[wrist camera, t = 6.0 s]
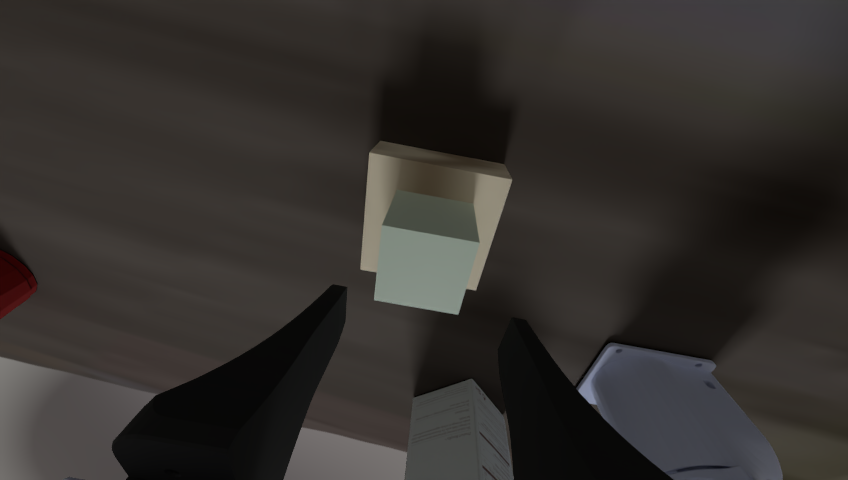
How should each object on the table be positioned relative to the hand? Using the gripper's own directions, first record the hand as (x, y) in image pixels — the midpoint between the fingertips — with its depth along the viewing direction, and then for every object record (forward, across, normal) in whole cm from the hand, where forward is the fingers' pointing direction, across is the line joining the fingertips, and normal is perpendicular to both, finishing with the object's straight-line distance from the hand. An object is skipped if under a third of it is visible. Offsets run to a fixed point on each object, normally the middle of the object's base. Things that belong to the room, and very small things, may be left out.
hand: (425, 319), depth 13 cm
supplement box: (+10, -7, +21) cm, 24 cm away
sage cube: (+7, 0, -1) cm, 7 cm away
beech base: (+10, 0, -1) cm, 10 cm away
